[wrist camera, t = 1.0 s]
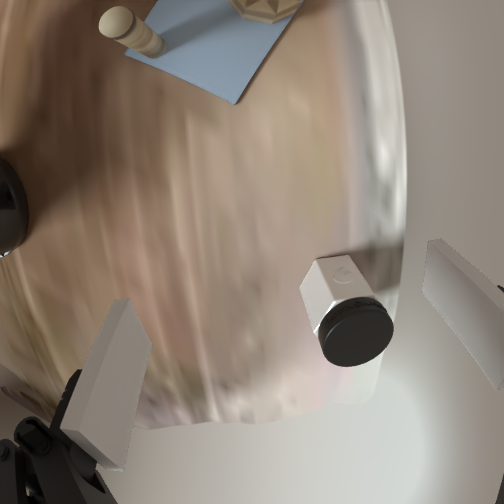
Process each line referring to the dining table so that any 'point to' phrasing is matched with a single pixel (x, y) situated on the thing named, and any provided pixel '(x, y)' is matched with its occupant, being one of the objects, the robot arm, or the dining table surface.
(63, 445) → the robot arm
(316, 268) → the jar
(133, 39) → the wooden dowel rod
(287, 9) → the bead maple
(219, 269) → the dining table surface
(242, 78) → the mat
